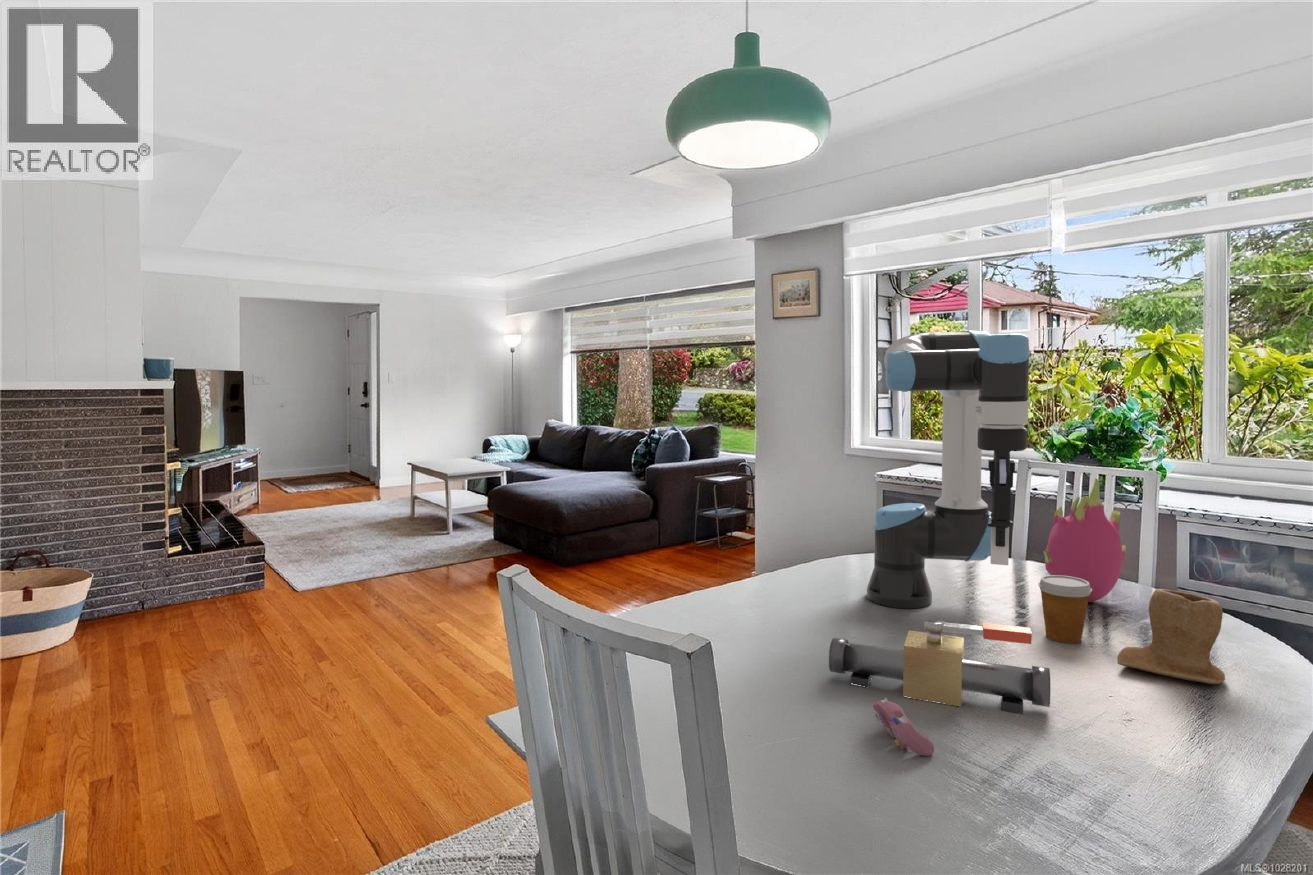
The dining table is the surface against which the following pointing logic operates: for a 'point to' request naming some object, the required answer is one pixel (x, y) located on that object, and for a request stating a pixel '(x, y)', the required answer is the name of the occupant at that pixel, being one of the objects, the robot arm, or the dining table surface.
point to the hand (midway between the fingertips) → (999, 563)
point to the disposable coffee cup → (1064, 606)
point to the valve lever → (982, 631)
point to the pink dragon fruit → (1086, 545)
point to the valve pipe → (940, 671)
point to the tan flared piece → (1179, 638)
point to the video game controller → (901, 728)
